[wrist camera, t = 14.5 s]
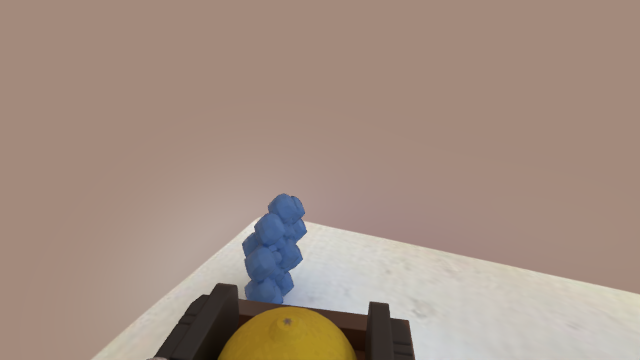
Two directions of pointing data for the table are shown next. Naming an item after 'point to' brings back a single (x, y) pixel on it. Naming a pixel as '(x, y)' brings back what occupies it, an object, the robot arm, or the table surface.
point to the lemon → (288, 338)
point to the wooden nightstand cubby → (346, 322)
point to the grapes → (274, 250)
